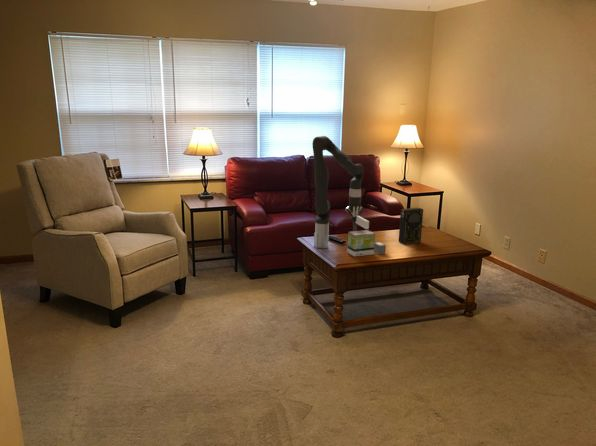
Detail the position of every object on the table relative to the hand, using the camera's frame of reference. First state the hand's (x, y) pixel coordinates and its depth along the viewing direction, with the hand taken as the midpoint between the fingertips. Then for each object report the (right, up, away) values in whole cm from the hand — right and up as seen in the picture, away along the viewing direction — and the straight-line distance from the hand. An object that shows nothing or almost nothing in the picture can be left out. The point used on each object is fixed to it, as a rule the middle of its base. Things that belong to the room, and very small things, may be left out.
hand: (353, 222), depth 297 cm
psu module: (+18, -20, +12) cm, 30 cm away
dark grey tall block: (+44, -15, +36) cm, 59 cm away
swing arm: (+5, -2, +7) cm, 9 cm away
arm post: (+2, -18, +20) cm, 27 cm away
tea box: (+6, -21, +9) cm, 24 cm away
